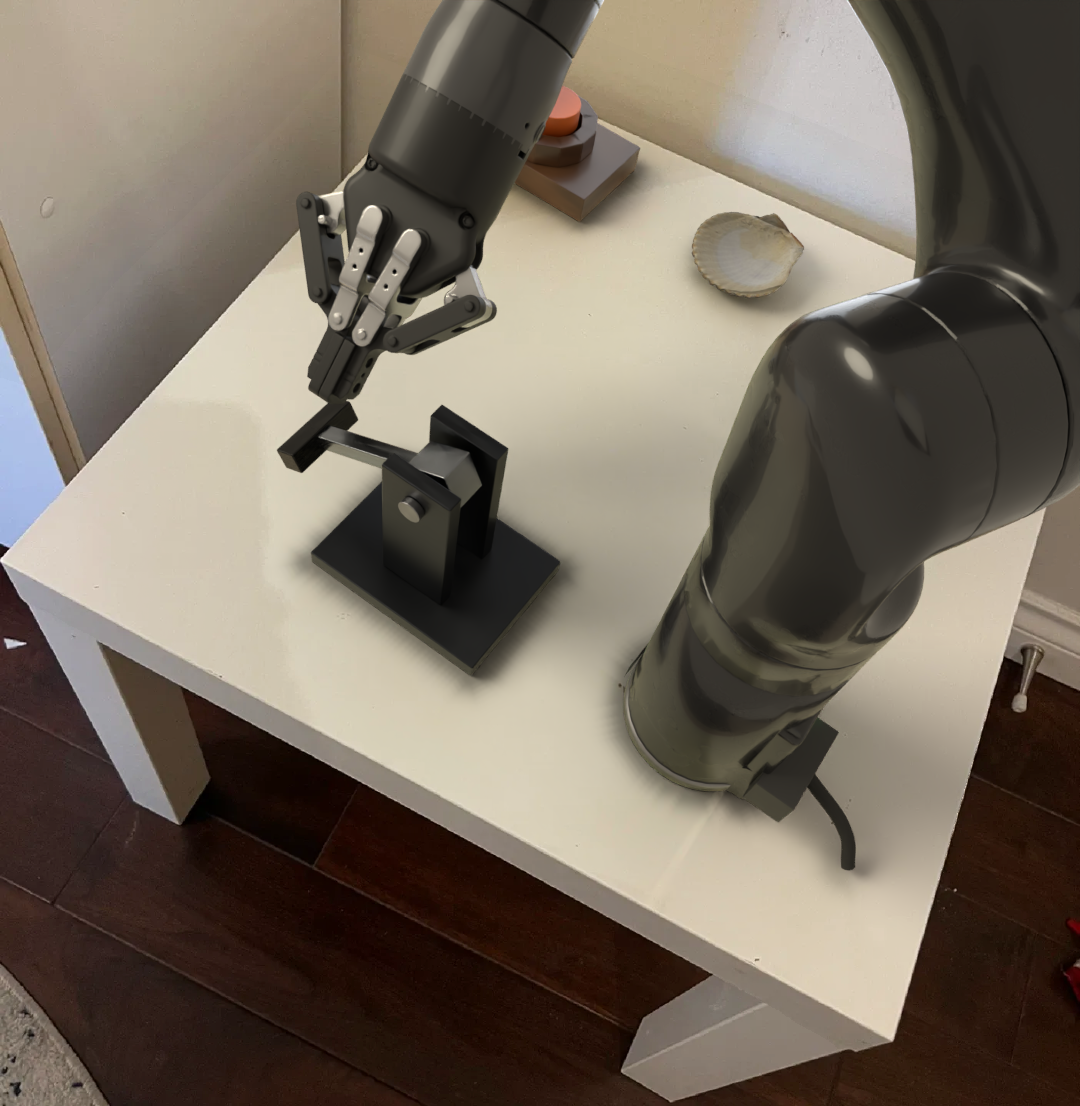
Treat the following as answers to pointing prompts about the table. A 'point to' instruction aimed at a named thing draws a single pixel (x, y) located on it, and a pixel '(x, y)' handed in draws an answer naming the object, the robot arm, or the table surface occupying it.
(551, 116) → the button
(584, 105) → the button base
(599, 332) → the table surface
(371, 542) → the switch bracket
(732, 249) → the seashell
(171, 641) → the table surface
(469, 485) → the switch lever
